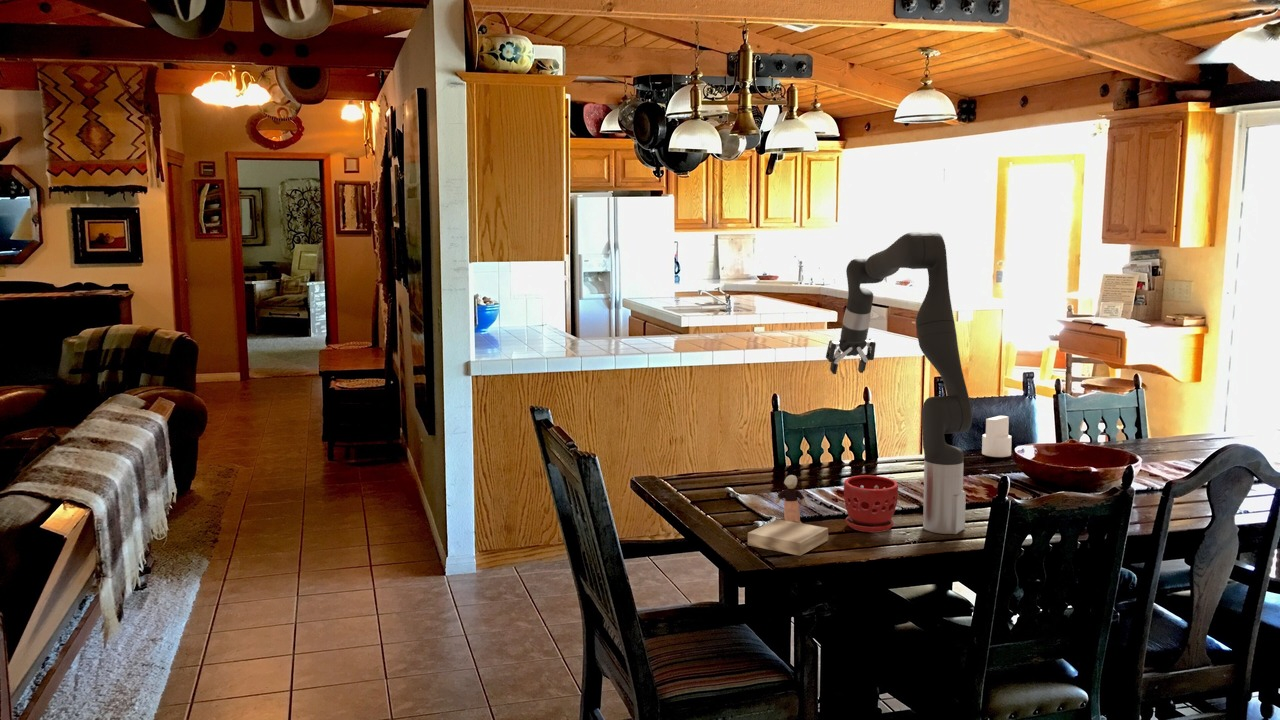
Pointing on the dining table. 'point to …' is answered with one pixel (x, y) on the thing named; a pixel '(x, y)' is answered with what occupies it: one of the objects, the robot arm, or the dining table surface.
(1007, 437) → the base with upright slab
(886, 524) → the plant pot
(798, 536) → the birch platform
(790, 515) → the grandmother figurine
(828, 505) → the dining table surface
